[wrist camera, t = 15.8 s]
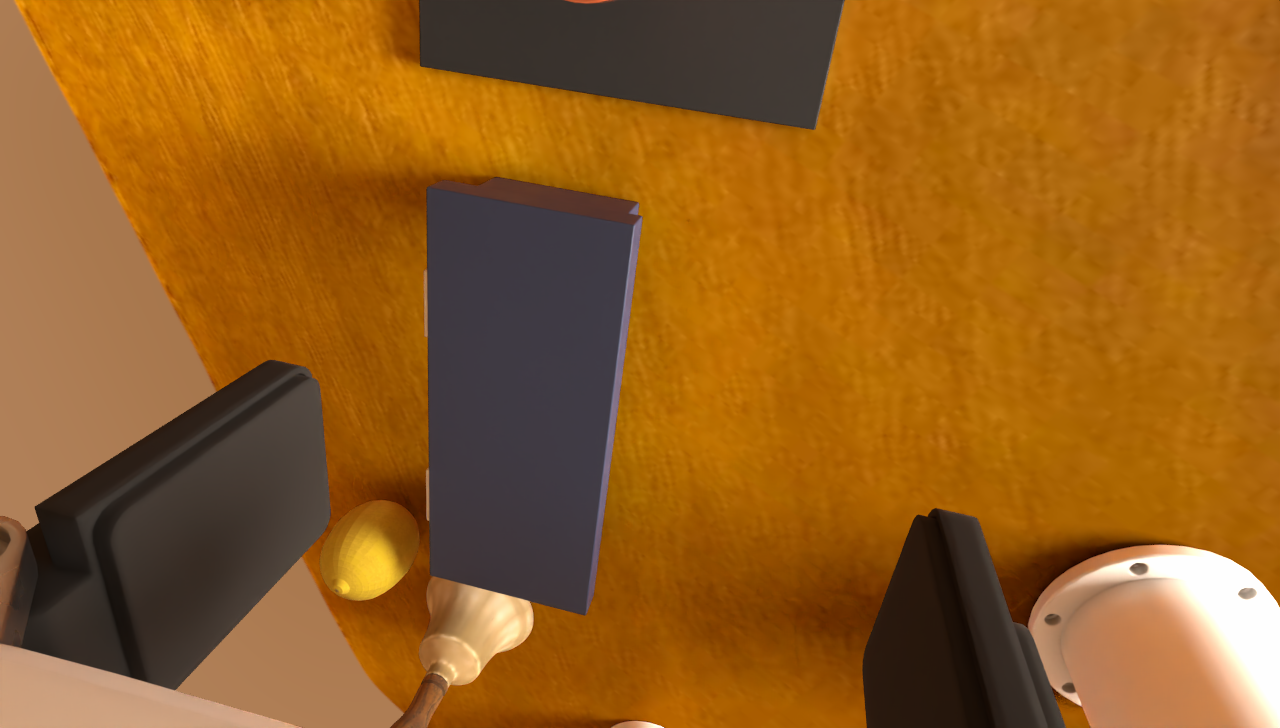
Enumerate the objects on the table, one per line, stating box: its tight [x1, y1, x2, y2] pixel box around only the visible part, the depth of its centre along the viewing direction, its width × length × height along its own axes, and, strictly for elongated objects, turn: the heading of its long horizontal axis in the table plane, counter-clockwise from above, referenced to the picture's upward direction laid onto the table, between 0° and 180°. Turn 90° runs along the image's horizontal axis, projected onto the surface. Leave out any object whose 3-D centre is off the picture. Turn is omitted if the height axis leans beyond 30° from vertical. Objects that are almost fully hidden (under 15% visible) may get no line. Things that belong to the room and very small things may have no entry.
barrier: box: [424, 177, 642, 615], centre depth 41 cm, size 10×24×6 cm, turn 173°
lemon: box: [320, 500, 420, 601], centre depth 47 cm, size 6×6×8 cm
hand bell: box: [390, 576, 534, 728], centre depth 46 cm, size 8×8×16 cm
